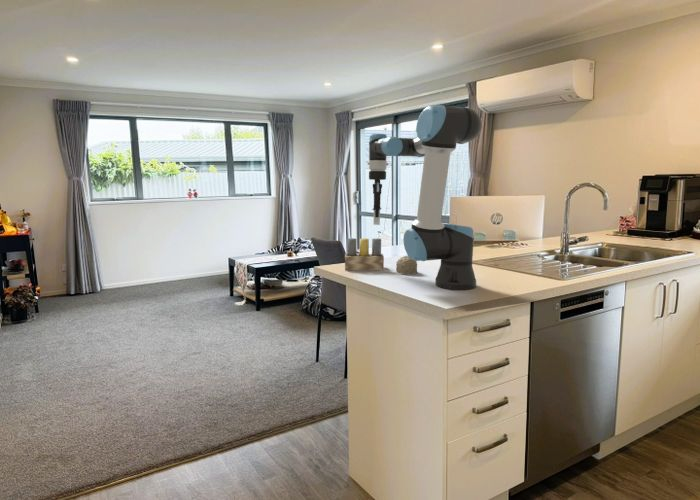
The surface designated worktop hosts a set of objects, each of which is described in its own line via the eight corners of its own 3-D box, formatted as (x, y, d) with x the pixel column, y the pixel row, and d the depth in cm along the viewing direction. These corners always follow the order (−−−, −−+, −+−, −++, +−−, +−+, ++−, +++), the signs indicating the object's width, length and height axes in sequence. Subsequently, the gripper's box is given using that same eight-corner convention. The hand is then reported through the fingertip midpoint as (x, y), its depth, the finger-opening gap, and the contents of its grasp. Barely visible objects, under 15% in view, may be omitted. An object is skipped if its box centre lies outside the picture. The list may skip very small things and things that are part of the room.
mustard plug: (370, 259, 209) (370, 239, 207) (362, 259, 207) (362, 239, 205) (365, 257, 212) (366, 238, 211) (358, 258, 210) (358, 238, 209)
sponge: (403, 283, 198) (416, 266, 193) (388, 268, 202) (399, 251, 197) (414, 280, 205) (426, 263, 201) (399, 265, 209) (411, 248, 204)
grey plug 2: (382, 259, 209) (382, 239, 207) (374, 260, 207) (375, 239, 205) (378, 257, 212) (378, 238, 211) (370, 258, 210) (370, 238, 209)
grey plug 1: (357, 259, 209) (358, 239, 207) (349, 259, 207) (349, 239, 205) (353, 257, 212) (353, 238, 211) (345, 258, 210) (345, 238, 209)
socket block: (382, 266, 214) (382, 253, 213) (383, 270, 206) (383, 256, 205) (345, 266, 214) (345, 253, 213) (344, 270, 206) (345, 256, 205)
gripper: (368, 170, 210) (367, 222, 214) (369, 170, 197) (368, 226, 201) (385, 170, 210) (384, 223, 214) (387, 170, 197) (386, 226, 201)
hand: (376, 224), depth 207 cm, fingers closed
